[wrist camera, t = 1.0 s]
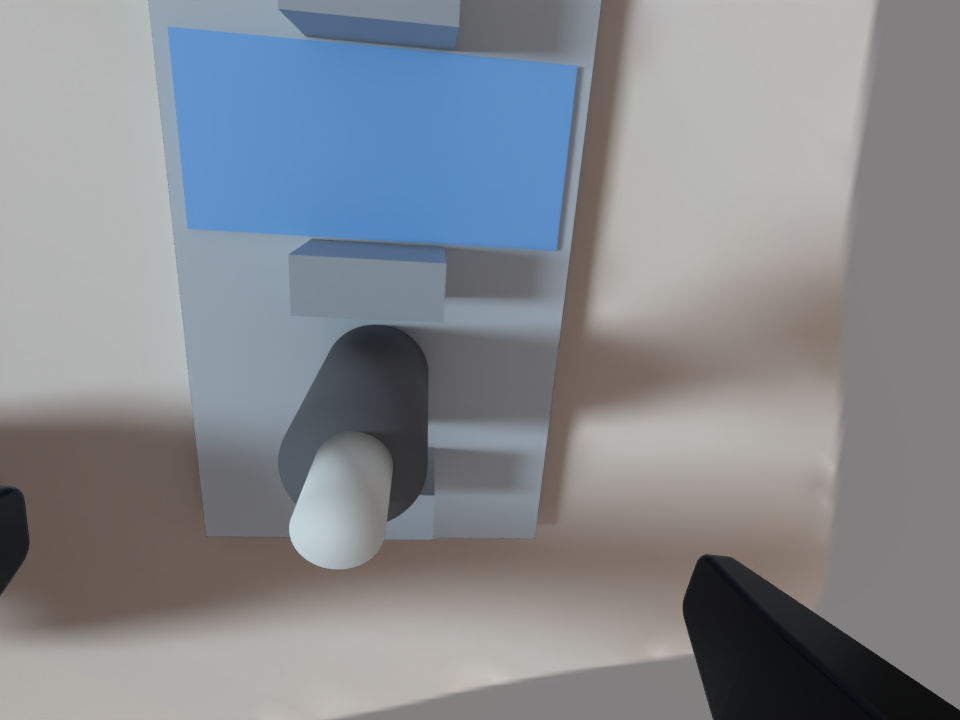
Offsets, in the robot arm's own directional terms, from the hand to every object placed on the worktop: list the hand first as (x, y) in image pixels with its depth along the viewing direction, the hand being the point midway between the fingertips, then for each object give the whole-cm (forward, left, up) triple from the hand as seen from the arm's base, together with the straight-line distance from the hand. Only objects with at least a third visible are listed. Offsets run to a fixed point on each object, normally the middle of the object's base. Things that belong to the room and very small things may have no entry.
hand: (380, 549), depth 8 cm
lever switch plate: (-1, +2, -12) cm, 12 cm away
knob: (-1, -2, -11) cm, 11 cm away
